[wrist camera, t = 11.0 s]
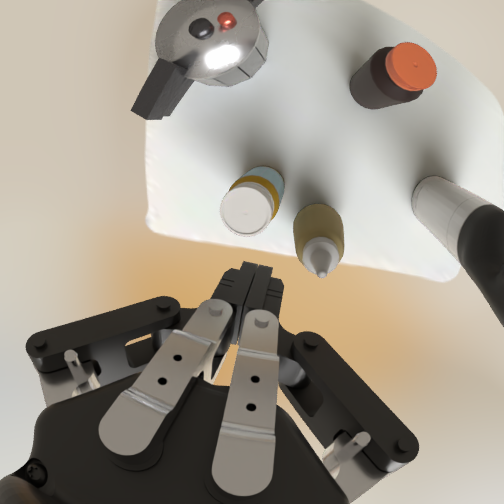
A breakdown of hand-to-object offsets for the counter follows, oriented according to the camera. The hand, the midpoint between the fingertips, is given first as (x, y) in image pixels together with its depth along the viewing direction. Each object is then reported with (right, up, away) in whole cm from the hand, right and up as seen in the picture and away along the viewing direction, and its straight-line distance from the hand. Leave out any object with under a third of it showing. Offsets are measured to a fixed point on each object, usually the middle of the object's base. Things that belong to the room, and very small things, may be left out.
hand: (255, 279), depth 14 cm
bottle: (+2, +12, +31) cm, 34 cm away
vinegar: (+18, +27, +21) cm, 39 cm away
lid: (-8, +28, +15) cm, 33 cm away
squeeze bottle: (+11, +7, +32) cm, 34 cm away
